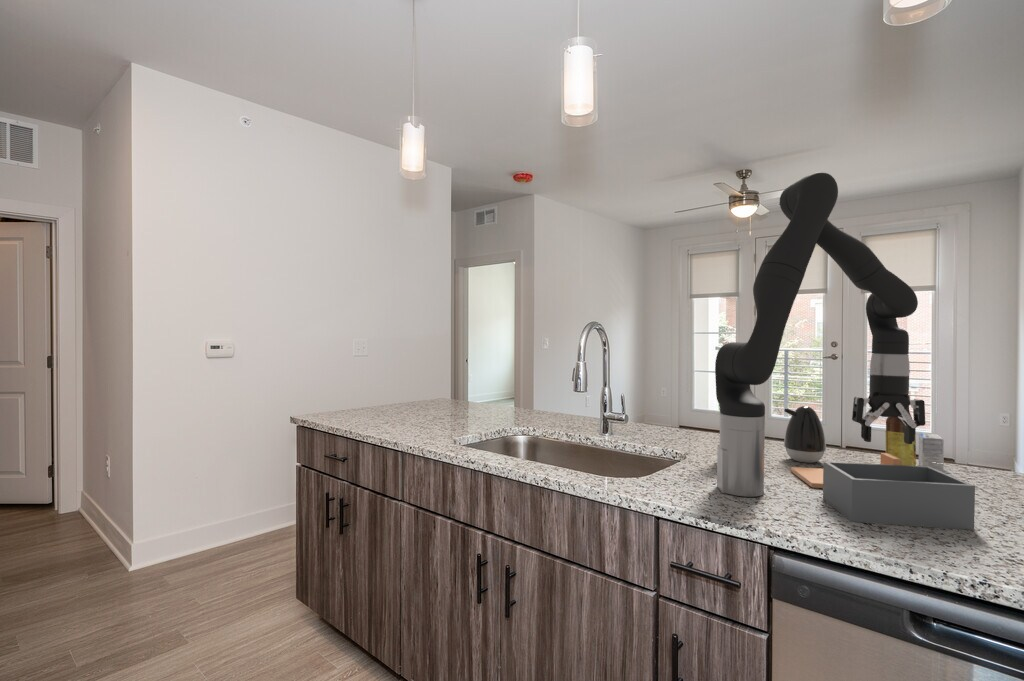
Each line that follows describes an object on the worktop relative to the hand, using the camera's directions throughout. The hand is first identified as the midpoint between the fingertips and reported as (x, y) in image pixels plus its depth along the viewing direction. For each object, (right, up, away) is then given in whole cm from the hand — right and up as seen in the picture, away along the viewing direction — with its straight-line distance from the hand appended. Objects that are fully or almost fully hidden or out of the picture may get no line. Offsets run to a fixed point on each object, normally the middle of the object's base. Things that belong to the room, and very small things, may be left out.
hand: (887, 442), depth 123 cm
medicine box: (+22, -10, +15) cm, 29 cm away
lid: (-8, -10, +2) cm, 13 cm away
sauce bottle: (+11, -10, +11) cm, 19 cm away
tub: (-13, -10, -19) cm, 25 cm away
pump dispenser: (-7, -10, +23) cm, 26 cm away
